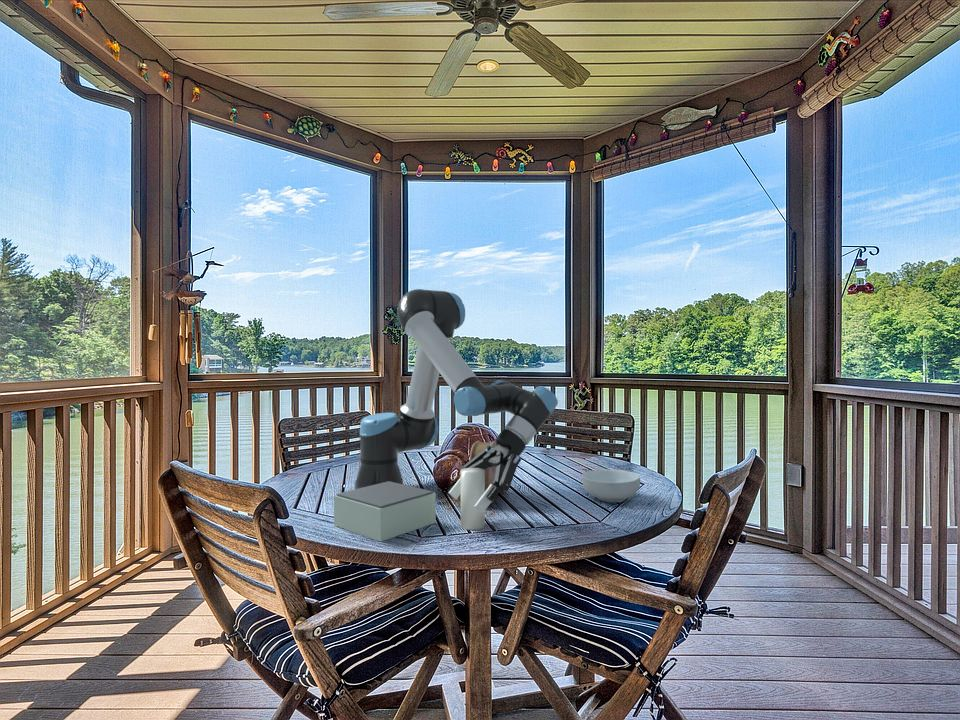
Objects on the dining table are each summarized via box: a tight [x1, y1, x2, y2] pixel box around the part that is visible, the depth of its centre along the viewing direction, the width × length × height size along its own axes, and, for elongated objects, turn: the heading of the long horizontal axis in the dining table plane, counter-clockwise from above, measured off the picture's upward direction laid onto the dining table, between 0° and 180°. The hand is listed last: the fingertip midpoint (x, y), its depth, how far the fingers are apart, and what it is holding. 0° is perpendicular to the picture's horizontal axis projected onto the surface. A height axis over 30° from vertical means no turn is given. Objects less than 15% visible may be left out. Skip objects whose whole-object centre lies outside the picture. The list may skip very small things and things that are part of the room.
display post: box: [460, 468, 486, 531], centre depth 138 cm, size 6×6×14 cm
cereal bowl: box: [581, 468, 641, 503], centre depth 162 cm, size 17×17×7 cm
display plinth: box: [333, 481, 437, 542], centre depth 139 cm, size 18×18×8 cm
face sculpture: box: [468, 439, 497, 505], centre depth 163 cm, size 20×7×17 cm, turn 171°
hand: (464, 502), depth 136 cm, fingers open, 13 cm apart
